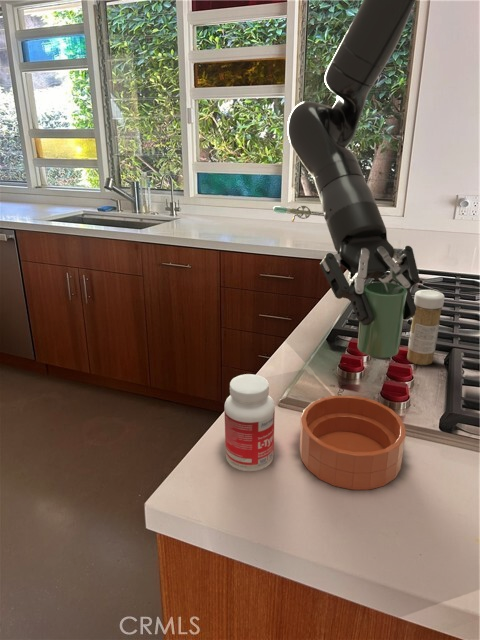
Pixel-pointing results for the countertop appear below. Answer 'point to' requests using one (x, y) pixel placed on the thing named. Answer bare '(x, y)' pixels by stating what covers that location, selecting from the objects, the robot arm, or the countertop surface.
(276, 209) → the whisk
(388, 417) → the terracotta bowl
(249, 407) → the pill bottle
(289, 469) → the countertop surface
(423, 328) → the sprinkles bottle
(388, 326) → the green cup
